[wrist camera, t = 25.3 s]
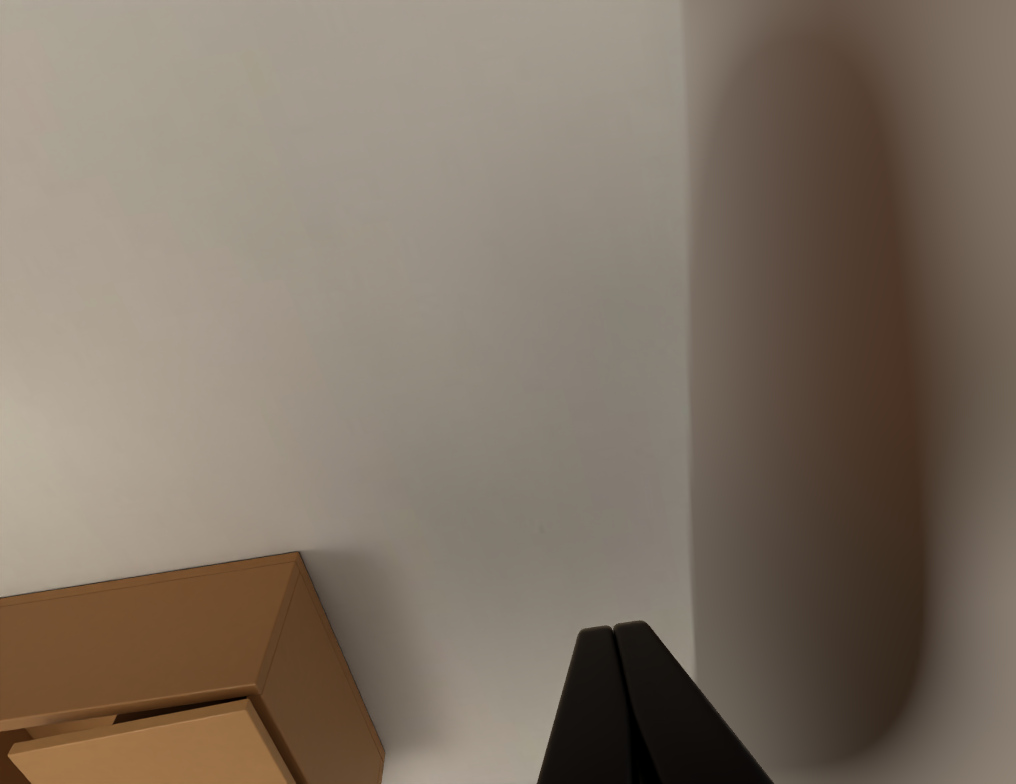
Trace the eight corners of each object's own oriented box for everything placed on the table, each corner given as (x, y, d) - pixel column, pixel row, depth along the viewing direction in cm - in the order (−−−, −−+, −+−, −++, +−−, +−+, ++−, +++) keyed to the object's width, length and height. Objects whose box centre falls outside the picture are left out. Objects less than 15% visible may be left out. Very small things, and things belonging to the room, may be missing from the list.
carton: (298, 551, 25) (255, 683, 20) (385, 753, 31) (368, 892, 26) (-71, 608, 26) (-196, 749, 21) (83, 794, 32) (13, 936, 27)
